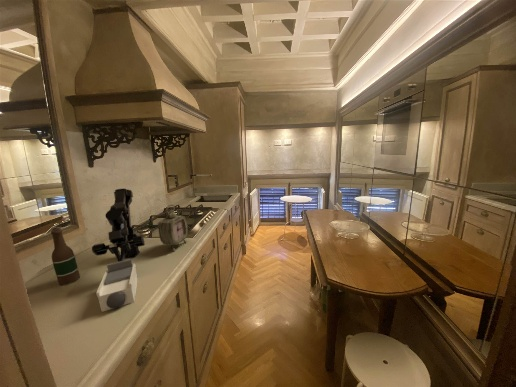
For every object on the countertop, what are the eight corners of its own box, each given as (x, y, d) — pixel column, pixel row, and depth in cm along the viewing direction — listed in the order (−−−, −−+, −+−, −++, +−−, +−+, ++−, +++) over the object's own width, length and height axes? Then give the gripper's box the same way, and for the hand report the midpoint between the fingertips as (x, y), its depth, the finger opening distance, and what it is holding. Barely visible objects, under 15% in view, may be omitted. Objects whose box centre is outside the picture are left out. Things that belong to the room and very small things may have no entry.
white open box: (109, 287, 88) (106, 270, 87) (138, 279, 93) (135, 263, 91) (100, 314, 73) (95, 295, 71) (134, 303, 77) (130, 285, 76)
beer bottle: (62, 278, 97) (48, 229, 92) (83, 273, 100) (71, 225, 95) (54, 287, 90) (39, 235, 85) (77, 282, 93) (63, 231, 88)
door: (109, 272, 87) (107, 264, 87) (132, 267, 91) (131, 258, 90) (105, 284, 79) (102, 275, 79) (130, 277, 83) (128, 268, 82)
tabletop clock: (174, 253, 115) (167, 208, 110) (160, 252, 117) (153, 208, 112) (189, 241, 129) (184, 201, 123) (177, 240, 131) (171, 201, 126)
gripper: (87, 227, 87) (85, 263, 79) (139, 218, 94) (142, 251, 87) (96, 238, 95) (95, 272, 88) (143, 229, 103) (146, 260, 95)
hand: (120, 263), depth 89 cm, fingers closed
